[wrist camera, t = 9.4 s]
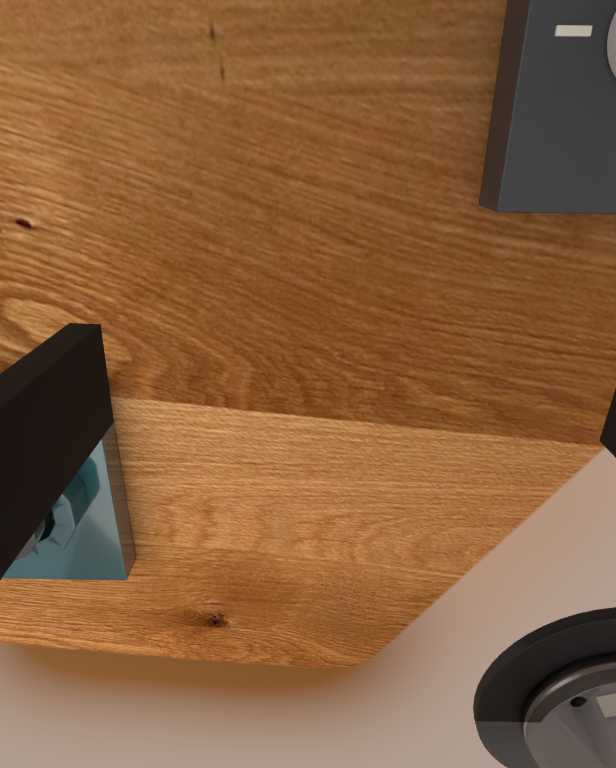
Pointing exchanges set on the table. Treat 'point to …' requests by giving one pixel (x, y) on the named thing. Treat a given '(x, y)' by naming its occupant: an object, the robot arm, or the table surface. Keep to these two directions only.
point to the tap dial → (612, 45)
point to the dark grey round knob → (35, 537)
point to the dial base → (553, 111)
